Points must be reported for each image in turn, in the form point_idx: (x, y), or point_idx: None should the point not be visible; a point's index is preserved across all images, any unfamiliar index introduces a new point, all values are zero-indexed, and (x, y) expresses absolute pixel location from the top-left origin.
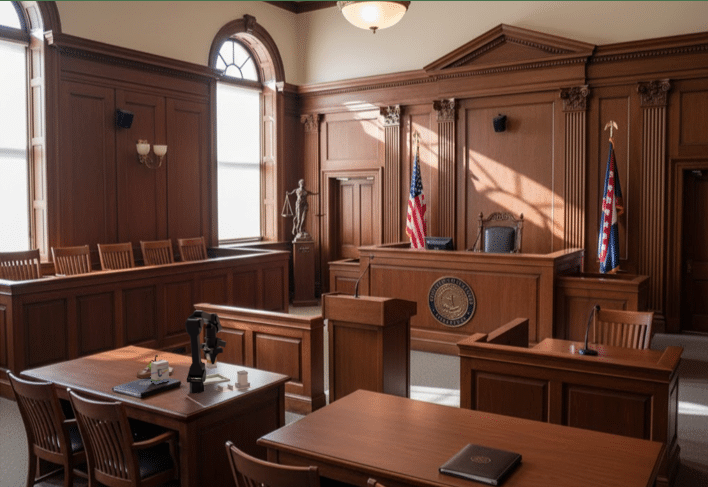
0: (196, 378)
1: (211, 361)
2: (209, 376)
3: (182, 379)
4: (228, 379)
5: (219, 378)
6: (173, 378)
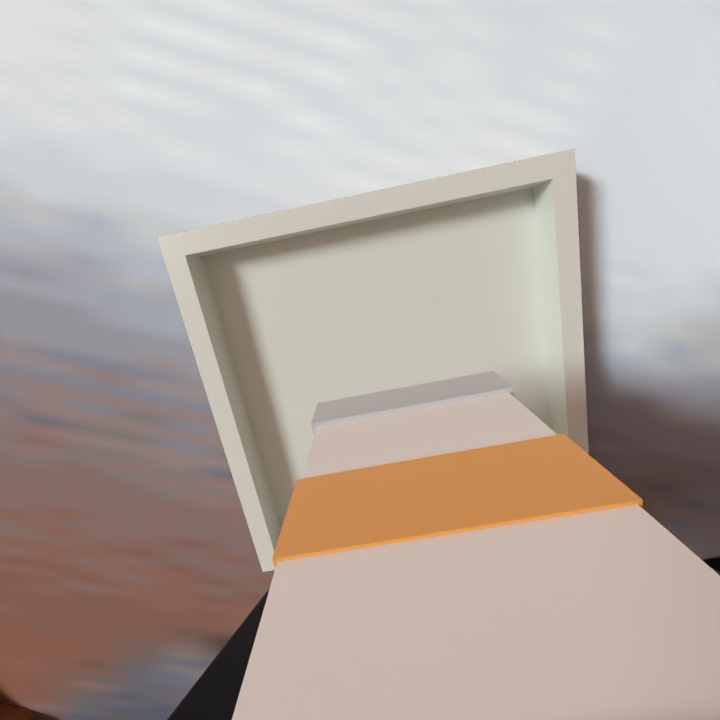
0: None
1: None
2: (230, 380)
3: (173, 618)
4: (571, 178)
5: (323, 264)
6: (107, 675)
